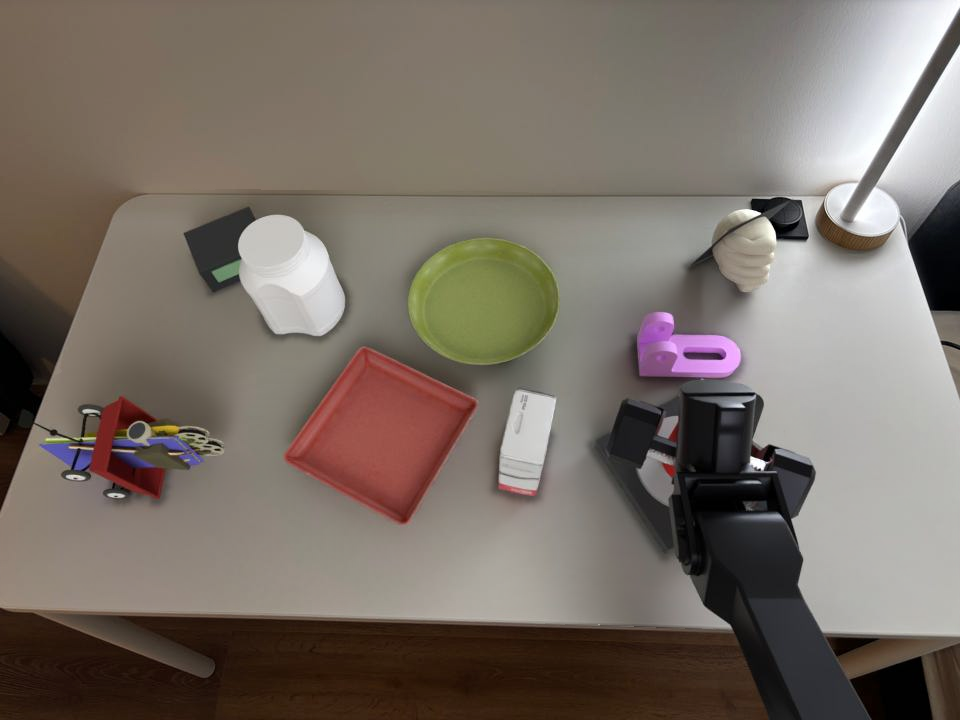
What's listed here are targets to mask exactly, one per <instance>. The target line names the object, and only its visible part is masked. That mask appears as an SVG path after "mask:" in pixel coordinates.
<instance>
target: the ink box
mask: <svg viewBox="0 0 960 720" xmlns="http://www.w3.org/2000/svg"><path fill="white" fill-rule="evenodd" d="M556 403H557V396H556V395H553V394H551V393H547V392H544V391H540V390H536V389H530V388H524V387H517V388H515V390H514V392H513V395H512V400H511V403H510V407H509V411H508V416H507V420H506V423H505V429H504V432H503V436H502V441H501V445H500V448H499V451H500V452H499V460H498V461H499V462H498V481H497V482H498V483H497V488H498V489H499V490H503V491H507V492H510V493H515V494H519V495H525V496H532V497H535V496H536V495H537V492H538V488H539V485H540V480H541V478H542V477H541V476H542V472H543V468H544V464H545V459H546V455H547V449H548V445H549V440H550V435H551V430H552V424H553V419H554V413H555V407H556Z"/></svg>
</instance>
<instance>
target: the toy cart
mask: <svg viewBox="0 0 960 720" xmlns="http://www.w3.org/2000/svg"><path fill="white" fill-rule="evenodd" d="M77 412H78V413H79V414H80V415H82V416H83V418H82V423H81V424H82V425H81V433H80V436H78V437H74V436H73V437H71V436H67V435H65V434H62V433H60V432H58V430H57V429H55V428H53V429H49V428H47V427H45V426H43V425H41V424H38V423H37V422H34V417H35V415H34V414H33V413H32V412H31V411H29V410H27V409H25V408H22V409H21V412H20V415H19V419H18V422H17V426H19V427H22V428H25V429H27V428H28V429H30V428H32V426H33V425H35V426H37V427H39V428H41V429H43V430H45V431H47V432H49V435H50V436H52V437H44V438H43V439H44V440H43V441H44V442H42V443H39V444H38V446H39V447H41V448H42V449H44V450H45V451H46V452H48V453H50V454H51V455H52V456H54V457H56V458H57V459H58V460H60V461H61V462H63V463H65V464H66V465H67V466H69V467H70V469H65V470H63V471H61V473H60V476H61V478H62V479H63V480H67V481H69V482H70V481H71V482H87V481H90V480H91V479H92V474H91V473H93V474H95V475H97V476H99V477H101V478H104V479H106V480H108V481H110V482H112V485H111V488H106V489H104V490H103V491H102V495H103V496H104V497H105V498H108V499H113V500H125V499H128V498H129V497H131V493H130V491H131V492H132V493H133V492H134V493H135V494H140V495H145V496H150V497H152V498H153V499H156V500H160V499H161V494H162V489H163V483H164V477H165V472H166V469H169V470H182V471H183V470H184V471H190V470H191V466H198V465H199V464H200V463H204V461H205V460H204V459H203V458H202V457H201V456H205V457H216V456H221V455H223V454H224V453H225V451H224V449H223V448H225V446H226V443H224V441H222V440H220V439H217V438H212V437H211V438H210V437H209V436H210V432H209V431H208V430H207V429H206V428H203V427H199V426H194V425H184V426H180V425H178V424H176V423H174V422H173V421H172V420H171V419H170V418H168V417H165V418H162V419H158V418H156V417H155V416H153V415H151V414H150V413H149V412H147V411H146V410H144V409H142V408H141V407H139V405H137V404H135V403H133V402H132V401H130V400H129V399H127V398H126V397H125V396H122V395H120V396H118V399H117V400H115V401H113V402H111V403H109V404H107V405H106V406H104V407H103V406H101V405H98V404H92V403H85V404H81V405H79V406H78V407H77ZM88 417H89V418H98V419H99V420H100V421H99V424H98V429H97V431H93V432H86V428H87V427H86V426H87V419H88ZM32 424H33V425H32ZM203 431H204V432H203ZM205 432H206V433H205ZM56 436H58V437H56ZM210 440H211V441H210ZM88 471H90V472H91V473H90V472H88ZM116 485H119V486H121V487H120V488H117V487H116ZM126 489H127V490H126Z"/></svg>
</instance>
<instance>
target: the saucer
mask: <svg viewBox="0 0 960 720" xmlns="http://www.w3.org/2000/svg"><path fill="white" fill-rule="evenodd" d="M560 303H561V297H560V289H559V284H558V281H557V279H556V277H555V274H554V273H553V271H552V270H551V268H550V266H549V265H548V264H547V263H546V262H545V261H544V260H543V259H542V257H540V256H539V255H538V254H537V253H535V252H534V251H532V250H530V249H529V248H527V247H526V246H524V245H521V244H520V243H516V242H513V241H510V240H506V239H502V238H494V237H493V238H492V237H479V238H472V239H465V240H462V241H459V242H454V243H453V244H450V245H448V246H446V247H444V248H442V249H440V250H439V251H437V252H436V253H434V254H433V255H431V256H430V257H429V258H427V260H426V261H425V262H423V264H422V265H421V266H420V268H419V269H418V271H417V273H416V274H415V275H414V278H413V280H412V282H411V284H410V287H409V291H408V298H407V311H408V315H409V319H410V322H411V325H412V327H413V329H414V331H415V332H416V334H417V335H418V336H419V338H420V339H421V340H422V341H423V343H424V344H426V345H427V346H428V347H429V348H430V349H431V350H432V351H434V352H436V353H437V354H439V355H441V356H442V357H444V358H447V359H449V360H452V361H454V362H457V363H461V364H467V365H474V366H490V365H497V364H501V363H507V362H510V361H513V360H515V359H517V358H520V357H522V356H524V355H525V354H527V353H529V352H530V351H532V350H533V349H534V348H536V347H537V346H538V345H539V344H540V343H541V342H542V341H544V340H545V338H546V337H547V336H548V335H549V334H550V332H551V330H552V329H553V327H554V325H555V323H556V321H557V318H558V315H559V311H560Z"/></svg>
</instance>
